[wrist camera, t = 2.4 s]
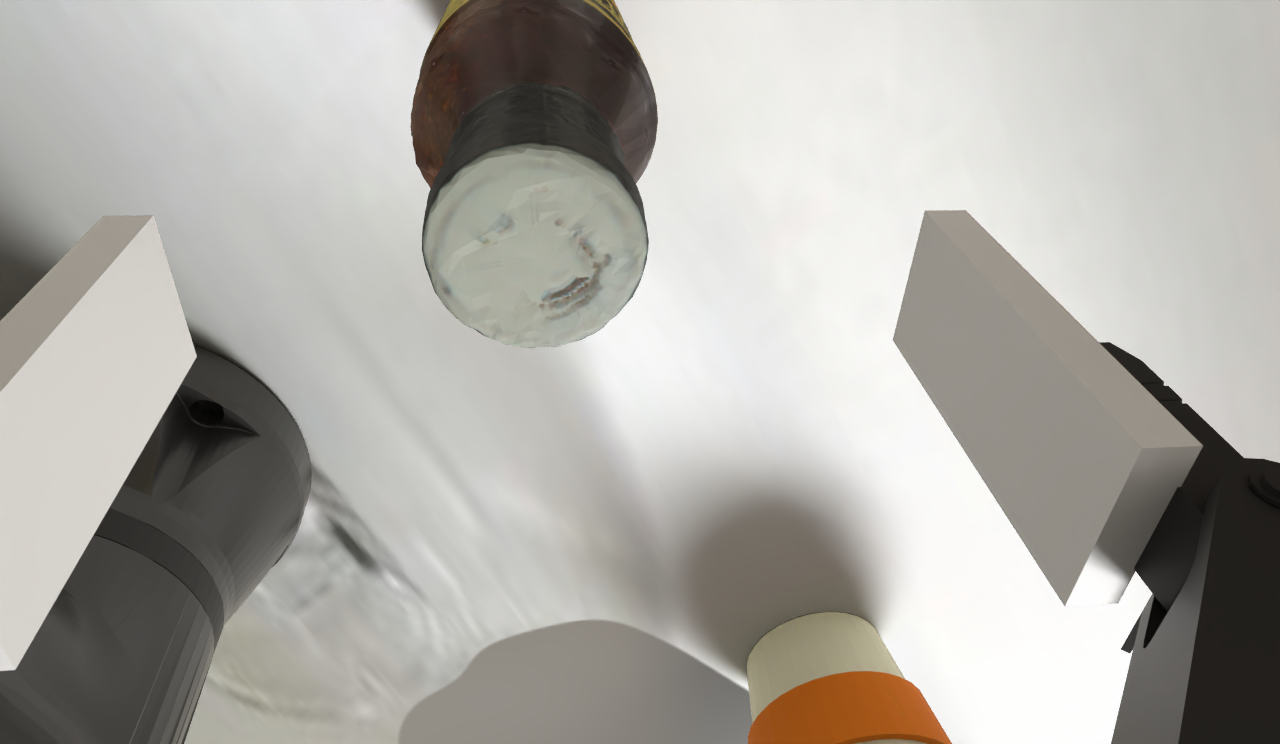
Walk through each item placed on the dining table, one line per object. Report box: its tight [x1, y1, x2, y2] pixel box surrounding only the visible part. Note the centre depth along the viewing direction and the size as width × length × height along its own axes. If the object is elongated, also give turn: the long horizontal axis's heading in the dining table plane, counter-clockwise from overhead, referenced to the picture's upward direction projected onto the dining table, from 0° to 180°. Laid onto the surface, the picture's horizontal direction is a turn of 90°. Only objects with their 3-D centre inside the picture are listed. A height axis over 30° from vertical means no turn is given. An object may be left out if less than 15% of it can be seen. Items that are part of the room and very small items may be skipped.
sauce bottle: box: [411, 0, 658, 348], centre depth 23 cm, size 7×6×20 cm
